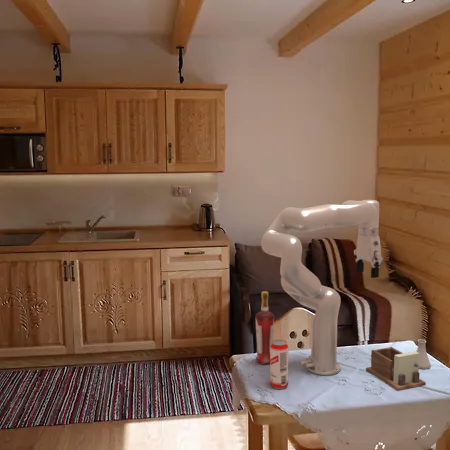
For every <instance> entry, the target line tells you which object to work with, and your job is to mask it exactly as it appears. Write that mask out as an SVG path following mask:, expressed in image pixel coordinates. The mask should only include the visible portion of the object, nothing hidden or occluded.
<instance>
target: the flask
mask: <svg viewBox="0 0 450 450" xmlns="http://www.w3.org/2000/svg"><path fill="white" fill-rule="evenodd" d="M426 344H427V340H426V339H421V338H420V339H417V349H416V350H415V351H416V352H418V353H419V369H420V370H430V369H431V366H432V365H431V361H430V359H429V356H428V352H427V350H426Z"/></svg>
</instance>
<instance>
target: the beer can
mask: <svg viewBox="0 0 450 450" xmlns="http://www.w3.org/2000/svg"><path fill="white" fill-rule="evenodd" d="M287 343H288V342H287V341H286V340H285V339H273V341H272V344H271V347H270V363H269V365H270V366H269V369H270V370H269V371H270V372H269V373H270V375H269V380H270V381H269V384H270V386H271V387H272V388H273V389H277V390H283V389H286V388H287V387H288V385H289V346H288V344H287Z"/></svg>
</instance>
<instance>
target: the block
mask: <svg viewBox="0 0 450 450" xmlns="http://www.w3.org/2000/svg"><path fill="white" fill-rule="evenodd" d="M416 351H417V350H415V351H410V352H404V353H403V352H402V353H403V354H397V355H394V381H393V382H394V383H396V384H399V375H402V374H404V375H406V376H405V383H408V382H413V372H419V369H420V368H419V353H418V352H416ZM419 373H420V372H419Z"/></svg>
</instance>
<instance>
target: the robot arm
mask: <svg viewBox="0 0 450 450" xmlns="http://www.w3.org/2000/svg"><path fill="white" fill-rule="evenodd" d="M379 221H380V203H379V201H378V200H375V199H363V200H353V199H351V200H349V199H348V200H345V201H344V202H342V203H341V204H329V203H328V204H327V203H326V204H322V205H315V206H311V207H310V206H309V207H302V208H301V207H292V206H289V207H286V208H284V209H282V210H281V211H280V212H279V214H278V215H277V216H276V217H275V218H274V219H273V221H272V223H271V224H270V225H269V227H268V228H267V230H266V231H265V232H264V234H263V236H262V238H261V241H260V242H261V243H260V245H261V249H262V251H263V252H264V253H266V254H268V255H270V256H274V257H277V258H281V259H280V266H279V267H280V270H279V274H280V276H281V277H280V285H281V287H282V289H283V291H285V293H287V294H288V295H289V296H290V297H291V298H292V299H293V300H295V301H296V302H297V303H299V304H300V305H301V306H304V307H306V308H309V309H311V310H314V311H315V314H314V315H313V317H312V319H311V327H310V328H311V330H310V331H311V332H310V334H311V335H310V336H311V337H310V339H311V340H310V342H311V343H310V345H311V346H310V355H308V356H307V357H308V358H307V359H306V360H300V361H298V364H299V367H304V366H305V368H306V369H307V371H309V372H310V373H312V374H316V375H320V376H331V375H336V374H338V373H340V372H341V365H340V364H339V363H338V362H337V357H338V356H337V352H338V351H337V350H338V318H339V317H338V316H339V311H340V307H341V301H342V300H341V296H340V293H338V292H337V291H336V290H335V289H333V288H332V287H330V286H329V287H328V286H325V285H322V283H321V281H320V279H319V277H317V276H316V275H315V274H314V273H313V272H312V271H311V270H309V268H307V267H306V265H304V264H303V263H302V253H303V246H302V243H301V240H300V239H299V238H298V237H296V236H295V235H293V234H290V232H296V233H309V232H314V231H318V230H324V229H328V228H340V227H349V226H350V227H351V226H358V227H357V228H358V232H357V233H358V234H357V241H356V248H355V249H354V250H353V254H354V260H355V265H356V266H355V271H356V273H363V272H364V271H365V270H364V268H365V265H364V264H365V263H364V261H365V262H367V263H370V264H371V267H370V278H372V279H374V278H376V279H377V278H379V276H380V267H381V265H382V264H383V263H382V262H383V260H384V257H382V253H381V252H382V251H381V250H382V249H381V248H382V247H381V239H380V236H379V228H380V227H379V226H380V225H379Z"/></svg>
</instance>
